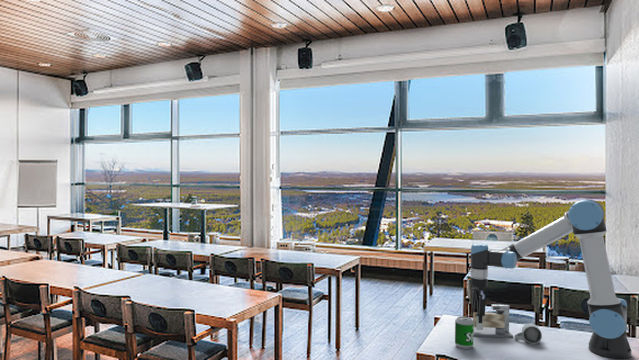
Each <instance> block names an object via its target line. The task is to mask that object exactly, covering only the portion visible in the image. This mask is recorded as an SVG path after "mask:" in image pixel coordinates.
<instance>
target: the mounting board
mask: <svg viewBox="0 0 639 360" xmlns="http://www.w3.org/2000/svg"><path fill="white" fill-rule="evenodd" d="M474 337H477V338H478V337H482V338H483V337H484V338H511V339H512V338H514V335H513V334H512V333H511V332H510V331H509V332H505V328H489V327H483V330H476V327H474Z"/></svg>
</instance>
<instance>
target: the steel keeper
mask: <svg viewBox="0 0 639 360" xmlns="http://www.w3.org/2000/svg"><path fill="white" fill-rule="evenodd" d="M490 309H491V310H493V311H496V309H503V310H505V312H504V313H503V314H504V315H505V332H510V305H508V304H491V307H490Z"/></svg>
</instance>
